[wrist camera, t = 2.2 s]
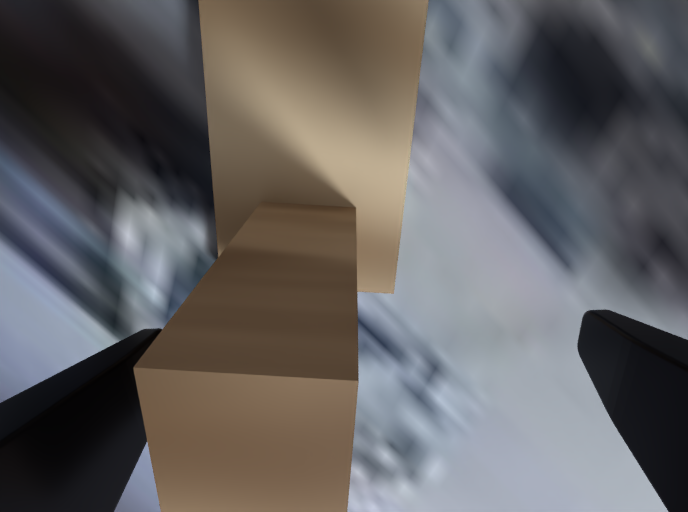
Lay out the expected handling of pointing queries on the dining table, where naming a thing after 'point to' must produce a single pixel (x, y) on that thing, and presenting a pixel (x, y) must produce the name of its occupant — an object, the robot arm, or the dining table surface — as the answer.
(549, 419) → the dining table surface
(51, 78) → the dining table surface
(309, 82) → the tan boxy piece
